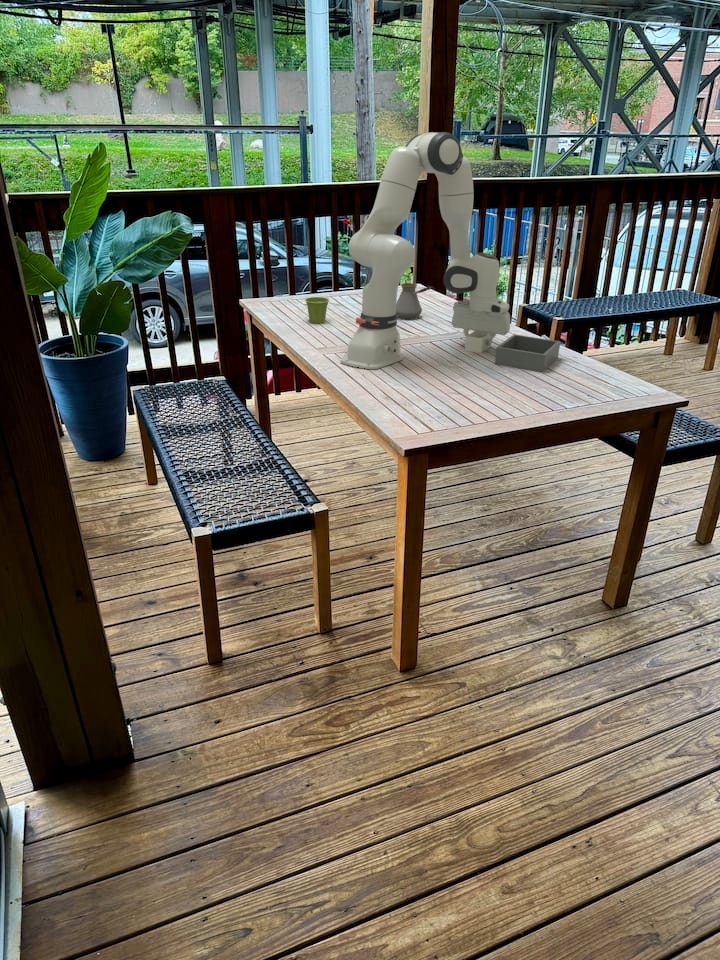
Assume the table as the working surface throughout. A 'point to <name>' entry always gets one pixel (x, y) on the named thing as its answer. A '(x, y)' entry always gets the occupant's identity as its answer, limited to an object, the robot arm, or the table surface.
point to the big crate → (527, 353)
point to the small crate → (477, 341)
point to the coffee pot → (409, 301)
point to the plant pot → (317, 309)
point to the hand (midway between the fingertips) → (478, 343)
